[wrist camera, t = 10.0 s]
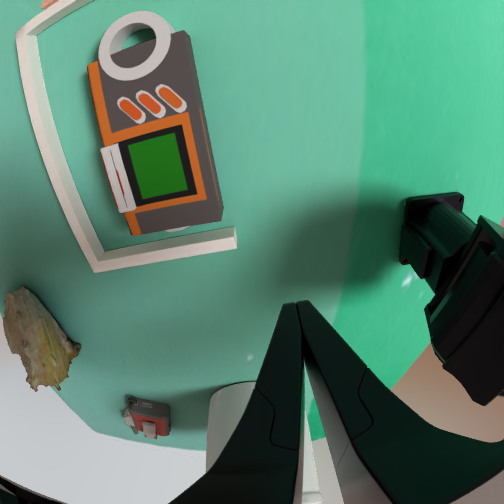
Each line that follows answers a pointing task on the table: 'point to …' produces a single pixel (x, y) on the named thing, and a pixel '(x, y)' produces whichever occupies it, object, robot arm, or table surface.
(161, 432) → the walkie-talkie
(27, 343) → the seashell
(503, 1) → the table surface
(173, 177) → the electronic device
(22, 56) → the docking bay
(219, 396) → the utensil holder
